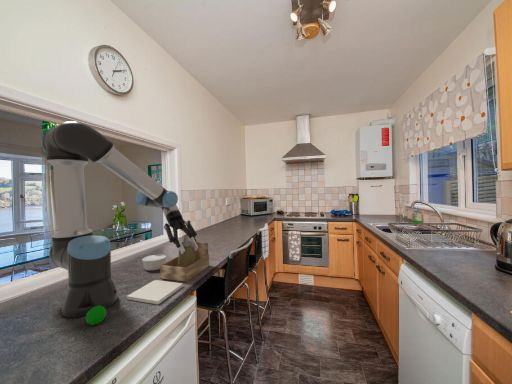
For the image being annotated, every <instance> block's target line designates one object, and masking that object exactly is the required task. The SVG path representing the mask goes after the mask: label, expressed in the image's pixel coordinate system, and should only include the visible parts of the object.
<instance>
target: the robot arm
mask: <svg viewBox="0 0 512 384" xmlns="http://www.w3.org/2000/svg"><path fill="white" fill-rule="evenodd" d="M41 146H42V148H43V150H44V151H45V152H46V161H47V163H49V164H50V165H51V166H52V167H53V183H54V184H53V185H54V195H55V196H54V198H55V211H56V212H55V213H56V227H57V231H56V232H54V234H52V236H51V240H52V241H51V242H52V245H51V246H50V248H49V252H48V256H49V259H50V261H51V262H52V263H53V264H54V266H55V265H56V267H59V268H61V269H64V270H66V271H67V278H68V282H67V283H68V290H67V292H66V295H65V298H64V300H63V303H62V305H61V316H63V317H65V318H73V319H74V318H81V317H86V314H87V312H88V311H89V310H90V309H92V308H93V307H95V306H103V307H105V309H107V308H109V307H111V306H112V305H113V304H115V303H116V301H117V300H118V291H117V290H118V289H117V288H116V286H115V283H114V281H113V279H112V252H111V251H112V246H111V240H110V238H108V237H107V236H104V235H96V234H95V235H94V234H93V231H94V230H92V229H91V228H89V226H88V219H87V218H88V216H87V201H86V200H87V198H86V197H87V196H86V183H85V170H84V169H85V167H86V165H88V164H89V160H90V161H91V162H92V163H99V164H101V166H103V167H105V168H106V169H107V170H109V171H110V172H111V173H113V174H115V175H116V176H118V177H119V178H121V179H122V180H123V181H125V182H126V183H127V184H129V186H132V187H133V188H134V189H136V190H137V191H138V192H137V193H136V196H135V202H136V204H137V205H138V206H142V207H150V208H151V207H153V208H161V210H162V212H163V215H164V217H165V220H166V221H167V222H166V223H165V224H164V226H163V228H164V230H165V231H166V235H167V238H168V241H169V243H173V245H175V246H176V248H177V249H178V251H179V250H180V252H181V254H183V253H184V252H185V249H184V247H183V245H182V241H181V239H179V236H178V235H179V234H178V233H179V232H178V230H181V231H182V232H183V233H184V234H185V235H187V237H188V239H189V241H190V242H191V244H192V246H193V248H194V250H195V251H196V250H197V249H198V246H197V244H196V242H198V241H197V239H196V236H197V235H198V233H197V231H196V230H195V228H194V227H193V225H192V223H191V221H190V220H187V221H186V220H185V219H183V215H182V212H180V209H179V207H178V206H177V203H178V201H179V196H178V194H177V193H176V192H175V191H171V190H167V189H166V188H165V187H163V186H162V185H161V184H160V183H158V181H156V180H155V179H154V178H152V177H151V175H148V174H147V173H146V172H145V171H144V170H143V169H141V167H139V166H137V165H136V164H135V163H134V162H132V161H131V160H130V159H129V158H128V157H126V156H125V155H124V154H122V153H121V152H120V151H119V150H117V149H116V148H115V144H114V143H113V142H112V141H111V140H109V139H108V138H107V137H106V136H104V135H103V134H102V133H101V132H99V131H98V130H96V129H95V128H93V127H91V126H89V125H88V124H86V123H83V122H79V121H75V120H73V121H72V120H71V121H64V122H62V123H60V124H59V125H57V126H54V127H51V128H49V129H48V130H46V131H45V132H44V134H43V135H42V138H41ZM171 228H172V230H171Z"/></svg>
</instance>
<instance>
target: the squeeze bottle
mask: <svg viewBox="0 0 512 384" xmlns="http://www.w3.org/2000/svg"><path fill="white" fill-rule="evenodd" d="M181 243H182V245H183V247H184V249H185V252H184V253H183V254H181V252H180V250H179V249H178V256H177V257H178V267H185V268H186V267H188V266H190V265H191V264H193V263H195V259H194V251H193V247H192V246H191V242H190V240H189V237H188V236H187V235H186V234H184V236H183V241H181Z"/></svg>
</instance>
